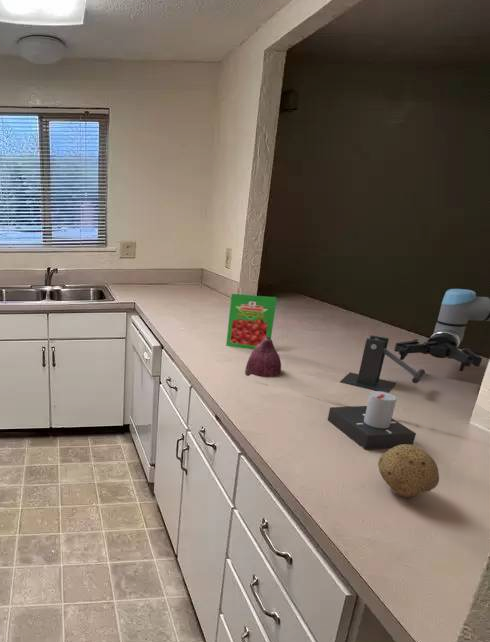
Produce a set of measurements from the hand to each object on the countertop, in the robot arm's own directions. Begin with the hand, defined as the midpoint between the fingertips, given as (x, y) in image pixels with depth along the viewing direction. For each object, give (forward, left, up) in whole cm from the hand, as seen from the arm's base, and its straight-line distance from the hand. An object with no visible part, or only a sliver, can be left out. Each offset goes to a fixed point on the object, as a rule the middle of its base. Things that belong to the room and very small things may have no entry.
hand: (431, 360), depth 122 cm
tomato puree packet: (+41, +35, -9) cm, 55 cm away
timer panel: (-23, +33, -9) cm, 41 cm away
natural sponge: (-45, +42, -9) cm, 62 cm away
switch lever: (0, +12, 0) cm, 12 cm away
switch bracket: (+3, +15, -9) cm, 17 cm away
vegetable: (+15, +41, -9) cm, 44 cm away
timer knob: (-25, +33, -5) cm, 41 cm away
